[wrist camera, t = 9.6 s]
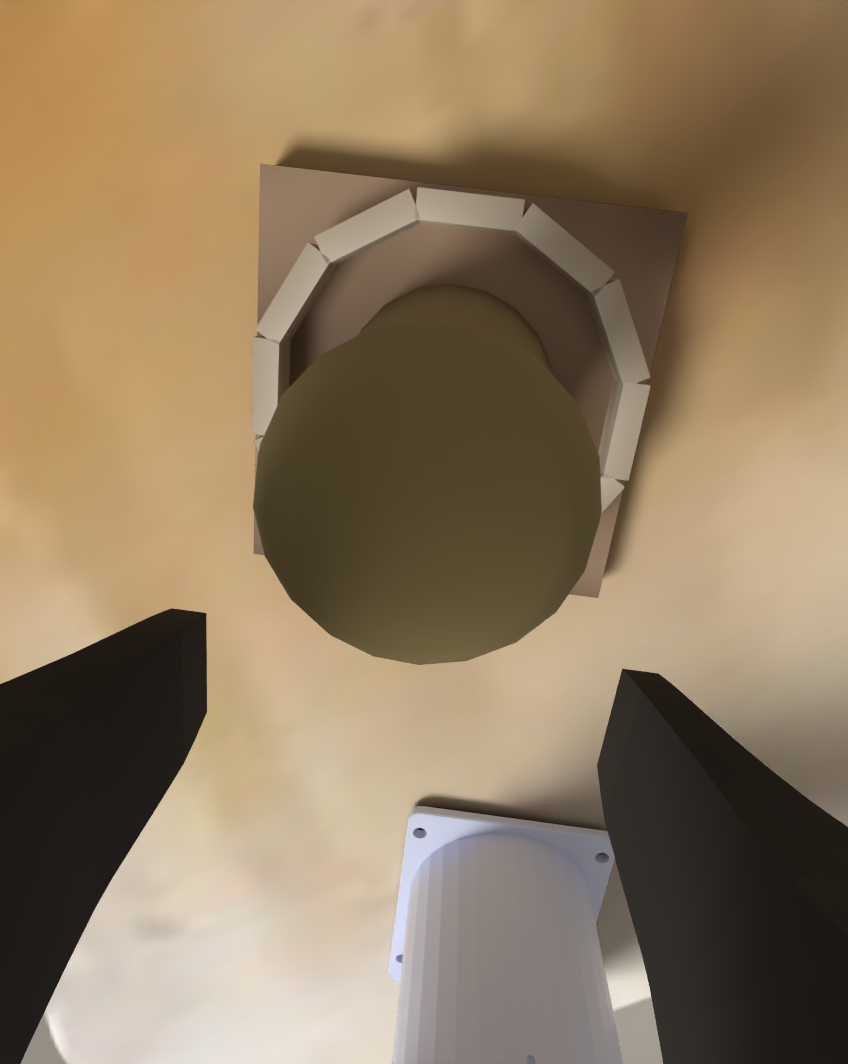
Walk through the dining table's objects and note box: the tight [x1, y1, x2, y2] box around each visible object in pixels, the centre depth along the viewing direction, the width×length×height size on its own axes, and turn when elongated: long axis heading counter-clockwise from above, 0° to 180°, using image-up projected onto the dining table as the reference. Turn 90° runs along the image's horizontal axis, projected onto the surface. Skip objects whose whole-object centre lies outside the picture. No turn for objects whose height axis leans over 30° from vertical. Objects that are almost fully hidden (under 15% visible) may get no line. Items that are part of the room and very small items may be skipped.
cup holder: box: [252, 164, 687, 598], centre depth 19 cm, size 11×11×2 cm
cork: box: [253, 284, 602, 665], centre depth 14 cm, size 6×6×11 cm
